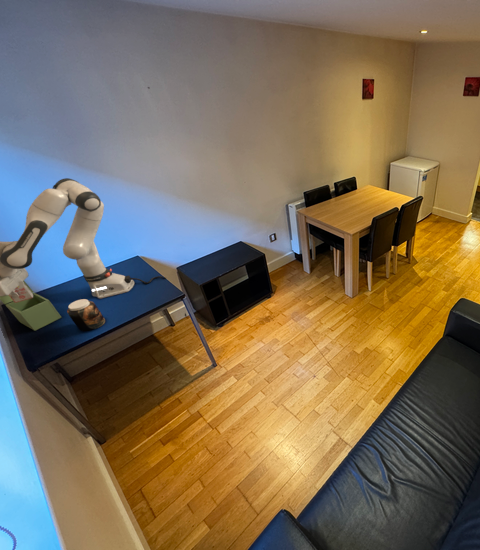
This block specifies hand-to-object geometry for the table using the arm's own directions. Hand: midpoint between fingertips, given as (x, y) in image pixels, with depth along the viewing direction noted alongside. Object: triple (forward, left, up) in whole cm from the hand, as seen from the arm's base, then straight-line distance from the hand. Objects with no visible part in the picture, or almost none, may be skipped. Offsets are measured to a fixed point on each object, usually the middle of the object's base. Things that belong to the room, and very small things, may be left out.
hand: (20, 293), depth 155 cm
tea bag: (0, 0, -4) cm, 4 cm away
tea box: (+1, -1, -20) cm, 20 cm away
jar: (-28, +14, -20) cm, 36 cm away
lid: (+7, -7, +2) cm, 10 cm away
